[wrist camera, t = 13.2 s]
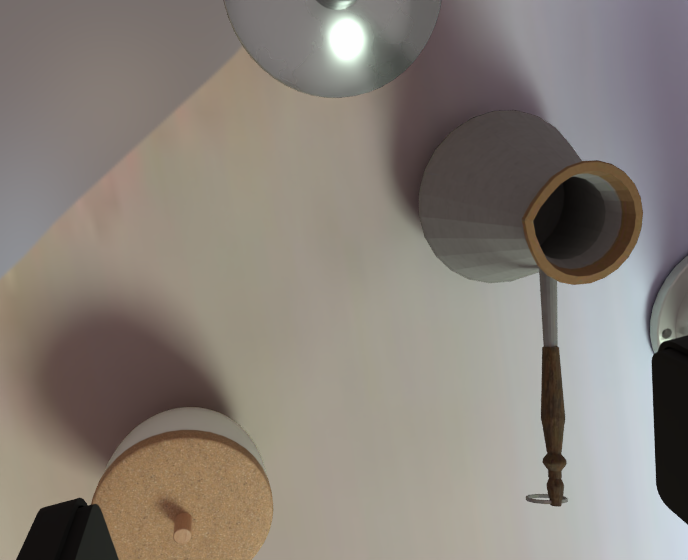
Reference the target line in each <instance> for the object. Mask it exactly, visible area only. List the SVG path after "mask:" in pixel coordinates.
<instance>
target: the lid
mask: <svg viewBox="0 0 688 560" xmlns="http://www.w3.org/2000/svg"><path fill="white" fill-rule="evenodd" d="M224 4H225V8H226V11H227V15H228V18H229V20H230V22H231V25H232V27H233V30H234V32H235V34H236V35H237V37H238V39H239V41H240V42H241V44H242V46H243V47H244V48H245V50H246V51H247V52H248V54H249V55H250V56H251V58H252V59H253V60H254V61H255V62H256V63H257V64H258V65H259V66H260V67H261V68H262V69H263V70H264V71H265V72H267V73H268V74H269V75H270V76H272V77H273V78H274V79H276V80H278V81H279V82H281V83H282V84H284V85H286V86H288V87H290V88H292V89H294V90H297V91H299V92H302V93H306V94H309V95H312V96H319V97H325V98H342V97H350V96H356V95H360V94H364V93H368V92H370V91H373V90H375V89H378V88H380V87H382V86H384V85H385V84H387V83H389V82H391V81H392V80H394V79H395V78H396V77H398V76H399V75H400V74H401V73H403V72H404V71H405V70H406V69H407V68H408V67H409V66H410V65H411V64H412V63H413V62H414V61H415V59H416V58H417V57H418V55H419V54H420V53H421V51H422V50H423V48H424V47H425V45H426V43H427V41H428V40H429V38H430V36H431V34H432V31H433V29H434V26H435V24H436V21H437V18H438V14H439V11H440V6H441V0H224Z"/></svg>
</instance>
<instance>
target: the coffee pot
mask: <svg viewBox="0 0 688 560" xmlns="http://www.w3.org/2000/svg"><path fill="white" fill-rule="evenodd" d="M419 217H420V221H421V225H422V229H423V233H424V236H425V238H426V240H427V242H428V243H429V245H430V247H431V248H432V250H433V252H434V254H435V255H436V257H437V258H439V259H440V260H441V261H442V262H443V263H444V264H445V265H446V266H447V267H448V268H449V269H450V270H452V271H454V272H456V273H457V274H459V275H461V276H463V277H465V278H467V279H470V280H476V281H481V282H486V283H498V282H509V281H513V280H516V279H520V278H523V277H526V276H529V275H532V274H535V273H538V272H539V273H540V291H541V308H542V325H543V342H544V347H542V394H541V421H542V425H543V431H544V437H545V443H546V449H547V454H546V456H545V457H544V458H543V464H544V465H545V466H546V468H547V469H548V477H549V480H548V482H547V490H548V494H534V495H528V496H526V500H527V501H529V502H533V503H541V504H550V505H552V506H561V504H562V503H565V502H568V499H567V498H566V497H564V496H563V491H564V484H563V482H562V480H561V478H562V475H561V471H562V469H563V468H564V467H565V465H566V460H565V458H564V457H563V456H562V455H561V452H562V442H563V431H564V423H565V411H564V400H563V389H562V378H561V366H560V355H559V347H557V281H559V282H562V283H567V284H572V285H576V284H587V283H592V282H595V281H597V280H600V279H603V278H605V277H606V276H608V275H609V274H611V273H612V272H614V271H615V270H617V269H618V268H619V267H620V266H621V265H622V263H623V262H624V261H625V260H626V259H627V258H628V257H629V255H630V253H631V252H632V250H633V248H634V247H635V245H636V243H637V240H638V237H639V234H640V231H641V227H642V217H643V210H642V203H641V197H640V195H639V193H638V190H637V188H636V186H635V184H634V183H633V181H632V180H631V179H630V178H629V177H628V176H627V174H626V173H625V172H624V171H622V170H620V169H619V168H617V167H616V166H614V165H612V164H610V163H606V162H602V161H598V160H596V161H582V160H581V159H580V158H579V156H578V155H577V153H576V152H575V151H574V149H573V148H572V146H571V145H570V144H569V143H568V141H567V140H566V139H565V138H564V137H563V136H562V134H561V133H560V132H559V131H558V130H557V129H556V128H555V127H554V126H552V125H551V124H549V123H547V122H546V121H544V120H543V119H541V118H539V117H538V116H535V115H531V114H528V113H524V112H520V111H516V110H510V111H492V112H489V113H486V114H483V115H480V116H477V117H474V118H472V119H470V120H468V121H467V122H465V123H464V124H462V125H461V126H459V127H458V128H456V129H455V130H453V131H452V132H451V133H450V134H449V135H448V136H447V137H446V138H445V139H444V141H443V142H442V143H441V144H440V145H439V146H438V147H437V148H436V150H435V152H434V153H433V155H432V157H431V159H430V161H429V163H428V165H427V167H426V168H425V171H424V175H423V179H422V183H421V187H420V190H419ZM531 498H550V500H536V499H531Z"/></svg>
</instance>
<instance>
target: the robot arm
mask: <svg viewBox="0 0 688 560" xmlns="http://www.w3.org/2000/svg"><path fill="white" fill-rule="evenodd" d="M650 337H651V343H652V348H653V351H654V353H655V354H654V355H653V357H652V383H653V410H654V436H655V463H656V485H657V490H658V493H659V495H660V497H661V499H662V501H663V502H664V503H665V505H666V506H667V507H668V508H669V509H670V510H672V511H673V512H674V513H675V514H676V515H677V516H678V517H680V518H681V519H682V520H683V521H684V522H685V523H687V524H688V255H687V256H686V257H685V258H684V259H683V260H682V261H681V262H680V263H679V264H678V265H677V266H676V267H675V268H674V269H673V270H672V272H671V273H670V274H669V276H668V277H667V278H666V280H665V281H664V283H663V285H662V287H661V289H660V290H659V292H658V295H657V298H656V300H655V303H654V306H653V310H652V315H651V321H650ZM16 560H119V558H118V556H117V553H116V550H115V547H114V544H113V541H112V539H111V536H110V533H109V530H108V527H107V524H106V522H105V519H104V516H103V513H102V511H101V508H100V507H99V505H98V504H92V505H89V506H88V505H87V503H86V502H85V501H84V499H82V498H77V499H74V500H70V501H66V502H62V503H59V504H55V505H51V506H47V507H44V508H41V509H40V510H39V512H38V513H37V516H36V518H35V520H34V522H33V524H32V526H31V529H30V531H29V533H28V535H27V537H26V540H25V542H24V544H23V546H22V548H21V550H20V553H19V555H18V557H17V559H16Z"/></svg>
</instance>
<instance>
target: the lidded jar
mask: <svg viewBox="0 0 688 560" xmlns="http://www.w3.org/2000/svg"><path fill="white" fill-rule="evenodd" d="M92 504H98V505H99V507H100V508H101V511H102V513H103V516H104V519H105V522H106V524H107V527H108V530H109V533H110V536H111V539H112V541H113V544H114V547H115V550H116V553H117V556H118V558H119V560H251V559H252V558H253V557H254V556H255V555H256V554H257V552H258V551H259V549H260V548H261V546H262V545H263V543H264V541H265V539H266V537H267V535H268V533H269V530H270V526H271V522H272V516H273V501H272V492H271V488H270V484H269V481H268V478H267V473H266V470H265V466H264V462H263V460H262V457H261V455H260V453H259V451H258V449H257V447H256V445H255V443H254V442H253V440H252V439H251V437H250V436H249V435H248V433H247V432H246V431H245V430H244V429H243V428H242V427H241V426H240V425H239V424H237V423H236V422H235V421H233V420H232V419H230V418H229V417H227V416H225V415H223V414H221V413H219V412H216V411H213V410H210V409H205V408H199V407H182V408H175V409H171V410H167V411H164V412H161V413H159V414H157V415H154V416H152V417H150V418H149V419H147V420H146V421H144V422H142V423H141V424H139V425H138V426H137V427H136V428H135V429H133V430H132V431H131V432H130V433H129V434H128V435H127V437H126V438H125V439H124V440H123V441H122V442H121V443H120V445H119V446H118V447H117V449H116V451H115V452H114V454H113V455H112V457H111V459H110V460H109V462H108V464H107V466H106V469H105V471H104V474H103V476H102V478H101V479H100V481H99V483H98V486H97V488H96V491H95V493H94V496H93V499H92V503H91V505H92Z"/></svg>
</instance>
